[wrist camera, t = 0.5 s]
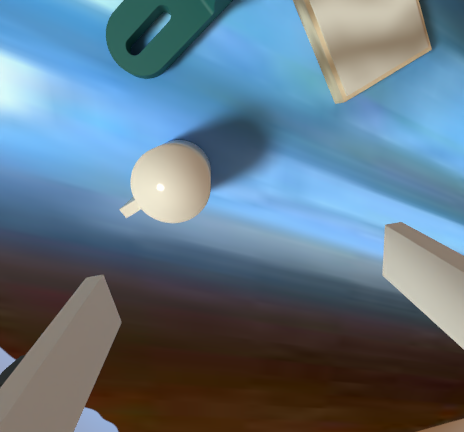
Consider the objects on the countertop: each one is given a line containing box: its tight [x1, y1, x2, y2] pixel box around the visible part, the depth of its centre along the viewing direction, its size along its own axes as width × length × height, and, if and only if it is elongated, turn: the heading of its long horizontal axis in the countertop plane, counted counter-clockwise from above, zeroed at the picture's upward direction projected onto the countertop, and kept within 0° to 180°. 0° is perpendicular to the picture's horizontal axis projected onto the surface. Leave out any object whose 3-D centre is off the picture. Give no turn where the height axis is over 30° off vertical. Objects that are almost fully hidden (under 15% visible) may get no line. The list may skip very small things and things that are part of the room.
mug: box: [119, 140, 211, 223], centre depth 31 cm, size 8×11×9 cm
